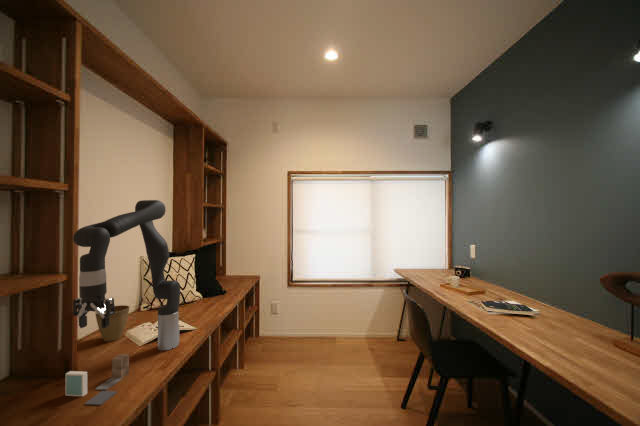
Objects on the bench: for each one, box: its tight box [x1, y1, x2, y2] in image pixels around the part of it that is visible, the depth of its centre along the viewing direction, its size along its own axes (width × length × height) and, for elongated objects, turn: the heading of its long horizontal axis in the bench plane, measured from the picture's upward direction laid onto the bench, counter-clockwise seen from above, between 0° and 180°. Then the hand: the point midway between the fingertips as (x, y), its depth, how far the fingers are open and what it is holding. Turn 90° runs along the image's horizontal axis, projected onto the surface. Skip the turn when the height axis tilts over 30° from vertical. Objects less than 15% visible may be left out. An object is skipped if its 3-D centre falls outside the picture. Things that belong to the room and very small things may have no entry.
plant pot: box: [94, 304, 130, 342], centre depth 148 cm, size 15×15×16 cm
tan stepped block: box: [95, 353, 130, 391], centre depth 108 cm, size 11×4×8 cm, turn 175°
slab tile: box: [64, 370, 88, 397], centre depth 100 cm, size 2×7×8 cm, turn 85°
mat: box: [84, 390, 118, 406], centre depth 98 cm, size 7×6×1 cm
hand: (94, 327), depth 98 cm, fingers open, 8 cm apart
